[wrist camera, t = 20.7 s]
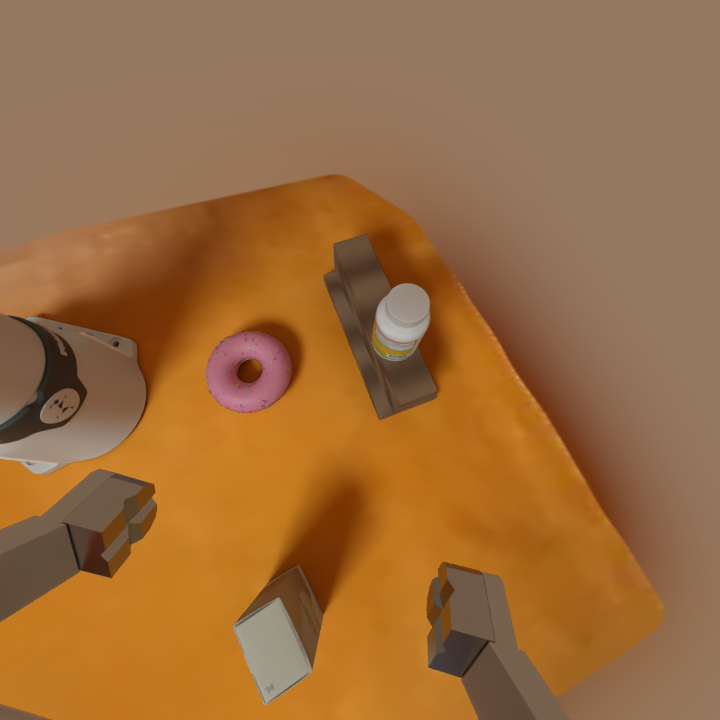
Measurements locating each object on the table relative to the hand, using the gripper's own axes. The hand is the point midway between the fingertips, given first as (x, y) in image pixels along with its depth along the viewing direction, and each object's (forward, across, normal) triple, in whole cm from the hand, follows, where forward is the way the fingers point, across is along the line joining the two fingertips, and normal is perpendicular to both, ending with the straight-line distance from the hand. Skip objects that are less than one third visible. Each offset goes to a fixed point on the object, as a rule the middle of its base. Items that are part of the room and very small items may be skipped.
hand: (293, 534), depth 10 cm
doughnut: (+33, +14, +18) cm, 40 cm away
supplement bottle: (+32, -3, +7) cm, 33 cm away
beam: (+40, -1, +10) cm, 41 cm away
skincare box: (+16, +1, +34) cm, 38 cm away
